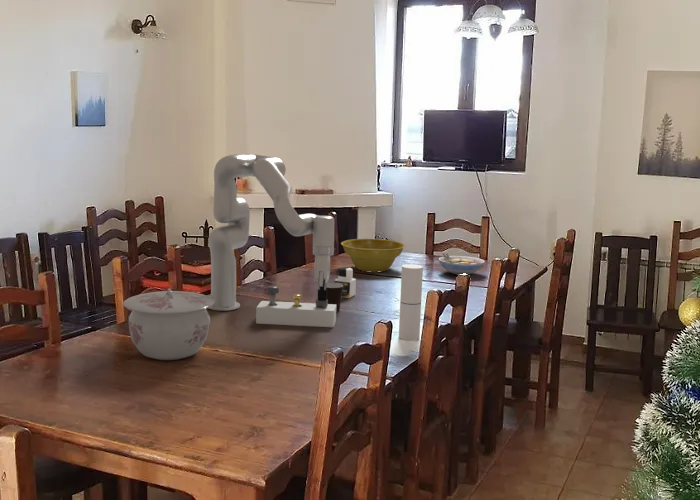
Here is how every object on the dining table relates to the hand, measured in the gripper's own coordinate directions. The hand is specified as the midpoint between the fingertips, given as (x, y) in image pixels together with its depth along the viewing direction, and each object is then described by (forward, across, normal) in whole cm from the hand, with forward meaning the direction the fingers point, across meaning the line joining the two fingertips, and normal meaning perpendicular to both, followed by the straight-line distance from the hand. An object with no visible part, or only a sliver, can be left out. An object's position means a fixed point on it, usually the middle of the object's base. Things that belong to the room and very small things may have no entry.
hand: (322, 300), depth 276 cm
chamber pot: (+9, +45, -42) cm, 62 cm away
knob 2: (+6, 0, 0) cm, 7 cm away
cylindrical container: (+9, +13, +32) cm, 35 cm away
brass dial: (+3, 0, -9) cm, 10 cm away
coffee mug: (+9, -21, +2) cm, 23 cm away
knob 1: (+3, 0, -18) cm, 18 cm away
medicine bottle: (+9, -46, +5) cm, 47 cm away
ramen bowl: (+9, -105, +58) cm, 120 cm away
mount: (+9, 0, -9) cm, 13 cm away
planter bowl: (+9, -106, +14) cm, 107 cm away
